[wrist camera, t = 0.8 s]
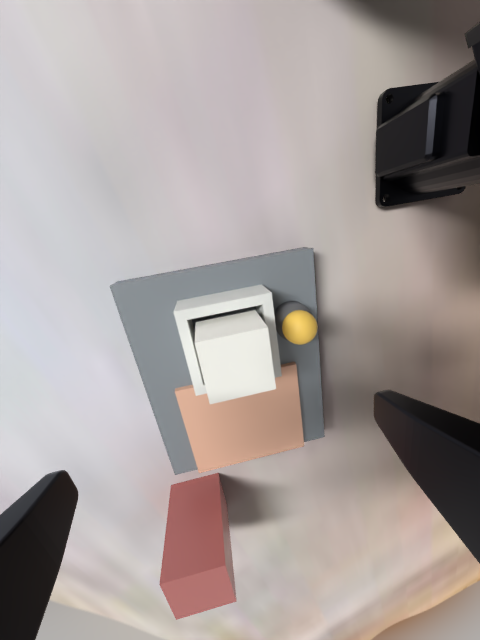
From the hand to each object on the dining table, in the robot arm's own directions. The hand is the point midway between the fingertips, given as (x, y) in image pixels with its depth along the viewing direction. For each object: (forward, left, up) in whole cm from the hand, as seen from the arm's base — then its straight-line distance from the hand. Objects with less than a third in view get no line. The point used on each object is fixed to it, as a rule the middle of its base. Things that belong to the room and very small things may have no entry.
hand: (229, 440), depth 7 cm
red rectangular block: (+5, +17, -12) cm, 22 cm away
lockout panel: (-1, +4, -12) cm, 13 cm away
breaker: (-1, +1, -8) cm, 8 cm away
